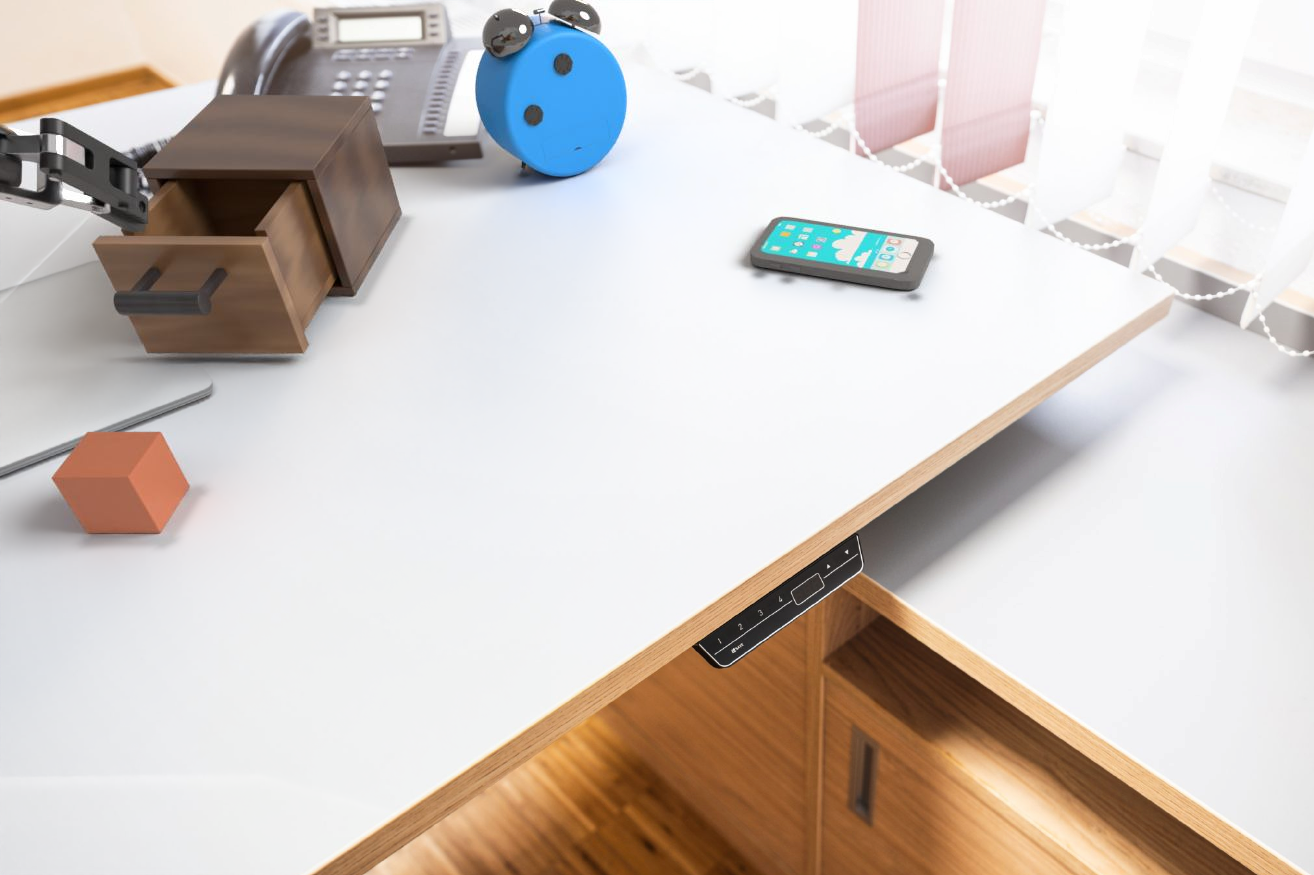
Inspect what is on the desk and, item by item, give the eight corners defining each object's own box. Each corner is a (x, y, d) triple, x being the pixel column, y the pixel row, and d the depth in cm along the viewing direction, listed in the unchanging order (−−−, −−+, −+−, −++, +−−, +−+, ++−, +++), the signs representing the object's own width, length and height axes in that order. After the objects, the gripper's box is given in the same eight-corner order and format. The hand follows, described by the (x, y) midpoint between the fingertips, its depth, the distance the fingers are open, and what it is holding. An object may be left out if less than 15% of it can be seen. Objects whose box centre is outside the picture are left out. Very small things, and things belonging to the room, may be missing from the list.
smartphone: (917, 282, 87) (745, 255, 89) (916, 293, 87) (745, 265, 90) (937, 236, 93) (776, 211, 95) (936, 246, 93) (776, 222, 96)
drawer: (280, 393, 74) (233, 281, 68) (116, 393, 74) (54, 281, 67) (357, 264, 87) (324, 161, 81) (218, 263, 87) (174, 159, 81)
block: (86, 533, 65) (50, 477, 61) (119, 486, 68) (87, 431, 65) (160, 533, 65) (128, 477, 62) (190, 486, 68) (161, 431, 65)
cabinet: (355, 296, 85) (313, 169, 78) (197, 295, 85) (140, 168, 77) (402, 213, 96) (369, 95, 88) (262, 212, 95) (217, 94, 88)
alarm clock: (603, 140, 108) (583, -19, 98) (637, 160, 105) (619, -2, 95) (489, 174, 102) (454, 8, 92) (521, 196, 99) (488, 27, 88)
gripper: (-29, 0, 44) (190, 151, 61) (-378, -7, 44) (-63, 148, 60) (-30, 175, 44) (190, 280, 61) (-380, 171, 44) (-64, 278, 60)
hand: (64, 214), depth 60 cm, fingers open, 8 cm apart
